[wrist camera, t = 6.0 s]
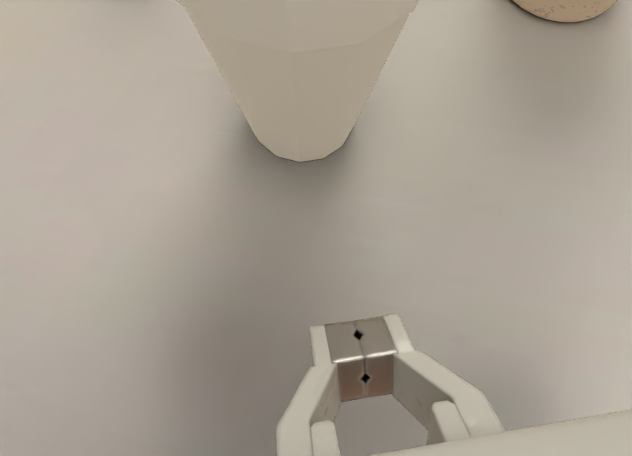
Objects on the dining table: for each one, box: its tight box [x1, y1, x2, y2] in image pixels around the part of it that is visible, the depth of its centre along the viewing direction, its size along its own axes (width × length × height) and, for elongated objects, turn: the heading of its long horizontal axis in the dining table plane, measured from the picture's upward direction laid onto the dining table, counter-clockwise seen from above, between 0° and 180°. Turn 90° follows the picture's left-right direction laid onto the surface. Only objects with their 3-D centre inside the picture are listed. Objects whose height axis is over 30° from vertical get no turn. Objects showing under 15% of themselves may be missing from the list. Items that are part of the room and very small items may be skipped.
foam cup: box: [176, 0, 419, 162], centre depth 16 cm, size 10×9×13 cm
